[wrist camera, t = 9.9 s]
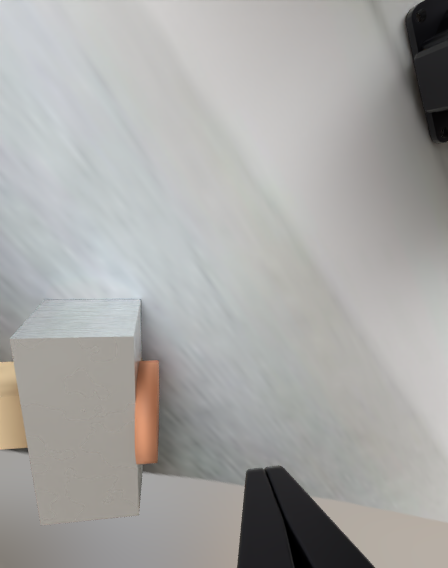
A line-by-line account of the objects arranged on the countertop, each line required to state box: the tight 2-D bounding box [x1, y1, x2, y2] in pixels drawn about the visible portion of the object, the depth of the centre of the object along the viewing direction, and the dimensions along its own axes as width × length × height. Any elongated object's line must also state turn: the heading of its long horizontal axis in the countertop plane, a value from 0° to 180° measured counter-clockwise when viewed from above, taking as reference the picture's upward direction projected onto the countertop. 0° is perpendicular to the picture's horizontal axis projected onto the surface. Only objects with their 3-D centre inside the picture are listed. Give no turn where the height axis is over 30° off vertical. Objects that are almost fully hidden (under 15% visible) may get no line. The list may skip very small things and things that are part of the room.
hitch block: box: [10, 299, 143, 525], centre depth 18 cm, size 5×11×4 cm, turn 177°
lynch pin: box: [0, 358, 159, 464], centre depth 18 cm, size 10×5×5 cm, turn 87°
